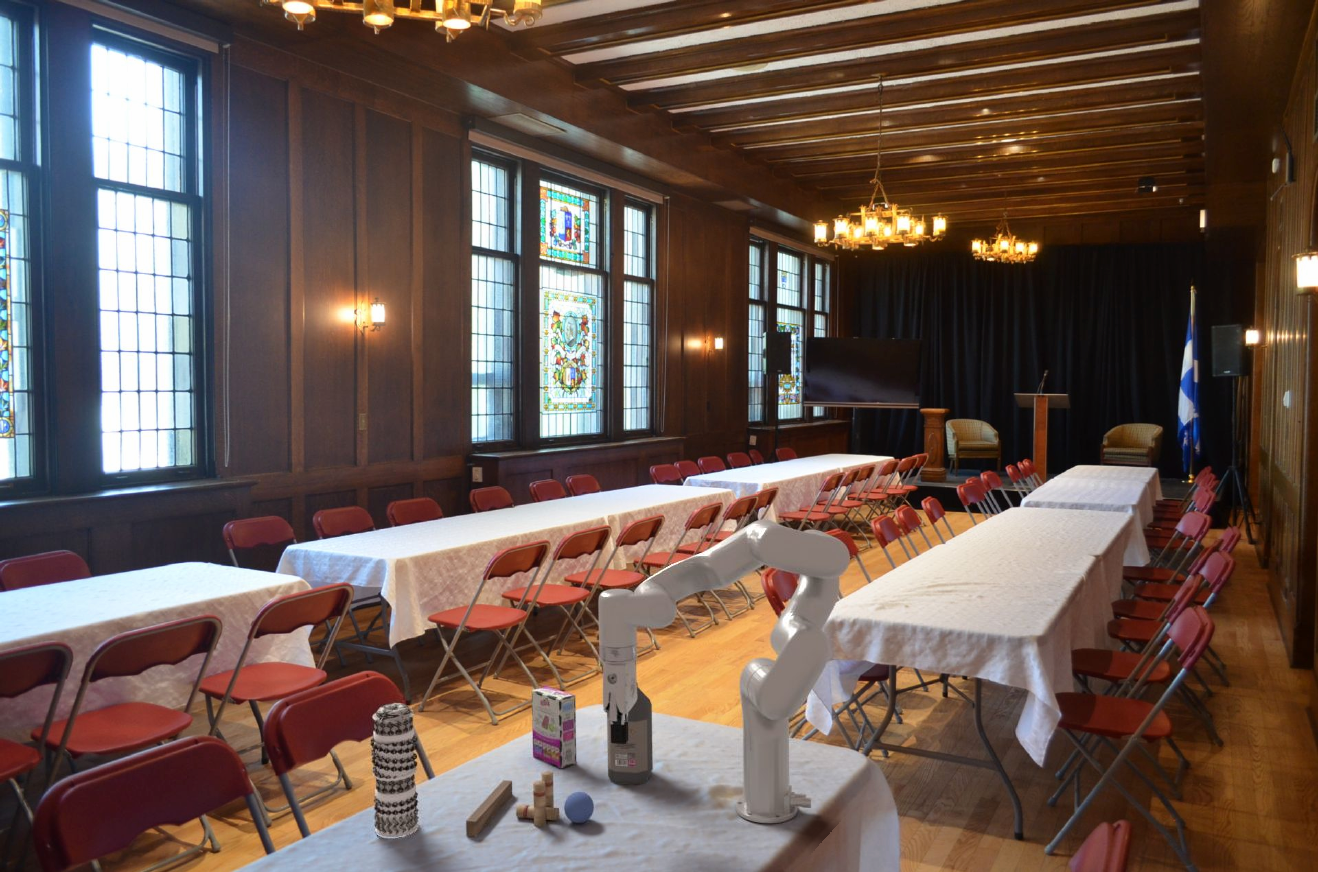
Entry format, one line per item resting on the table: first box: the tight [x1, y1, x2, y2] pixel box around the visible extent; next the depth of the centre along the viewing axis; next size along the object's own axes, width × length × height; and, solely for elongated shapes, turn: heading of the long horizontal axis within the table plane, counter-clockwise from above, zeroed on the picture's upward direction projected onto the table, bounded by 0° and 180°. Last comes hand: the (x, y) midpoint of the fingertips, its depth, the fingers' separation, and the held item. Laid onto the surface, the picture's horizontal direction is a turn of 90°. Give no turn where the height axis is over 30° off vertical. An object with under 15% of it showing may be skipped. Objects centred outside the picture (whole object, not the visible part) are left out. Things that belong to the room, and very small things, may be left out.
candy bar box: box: [531, 685, 577, 769], centre depth 231 cm, size 11×5×16 cm, turn 45°
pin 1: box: [532, 780, 547, 828], centre depth 198 cm, size 2×2×8 cm
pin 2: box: [541, 770, 555, 808], centre depth 202 cm, size 2×2×8 cm
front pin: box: [515, 804, 560, 821], centre depth 200 cm, size 2×2×8 cm
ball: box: [563, 791, 595, 824], centre depth 198 cm, size 6×6×6 cm
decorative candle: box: [370, 702, 420, 837], centre depth 196 cm, size 9×9×25 cm
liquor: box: [606, 660, 654, 786], centre depth 220 cm, size 9×9×30 cm
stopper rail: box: [465, 779, 513, 837], centre depth 203 cm, size 2×20×3 cm, turn 168°
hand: (619, 741), depth 196 cm, fingers closed
